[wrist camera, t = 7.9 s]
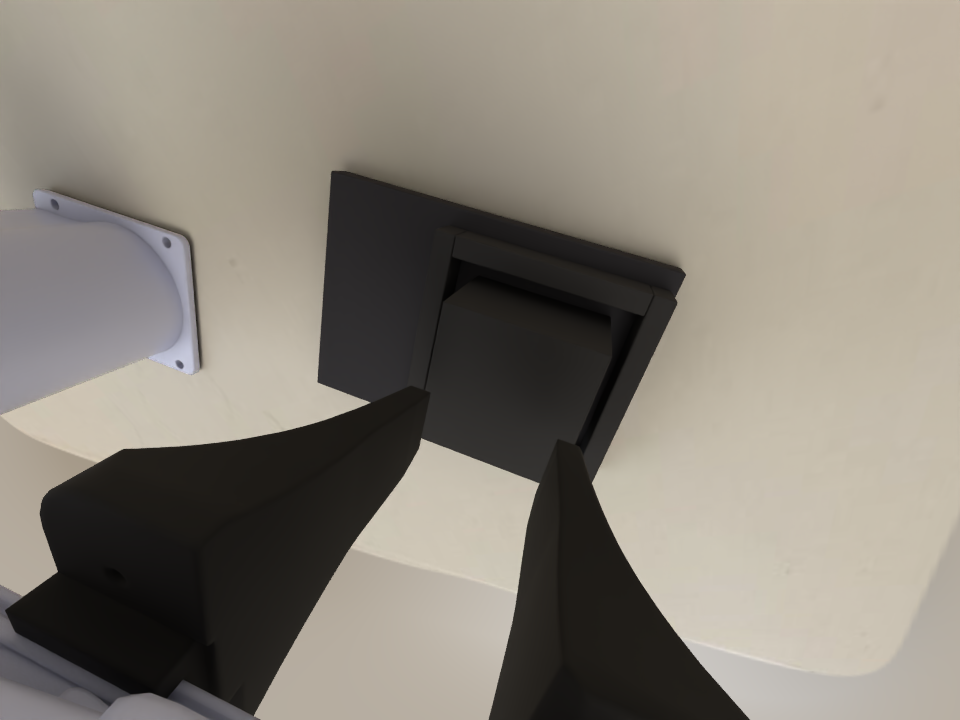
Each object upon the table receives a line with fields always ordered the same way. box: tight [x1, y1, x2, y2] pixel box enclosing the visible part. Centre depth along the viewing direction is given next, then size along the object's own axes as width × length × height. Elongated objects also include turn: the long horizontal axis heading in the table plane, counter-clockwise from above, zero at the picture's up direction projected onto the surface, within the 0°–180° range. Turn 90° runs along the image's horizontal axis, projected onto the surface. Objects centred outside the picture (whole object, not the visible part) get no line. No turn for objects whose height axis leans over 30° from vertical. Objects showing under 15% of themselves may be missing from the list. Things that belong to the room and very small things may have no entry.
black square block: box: [421, 276, 612, 483], centre depth 16 cm, size 5×5×4 cm
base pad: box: [318, 171, 686, 482], centre depth 17 cm, size 14×10×2 cm
